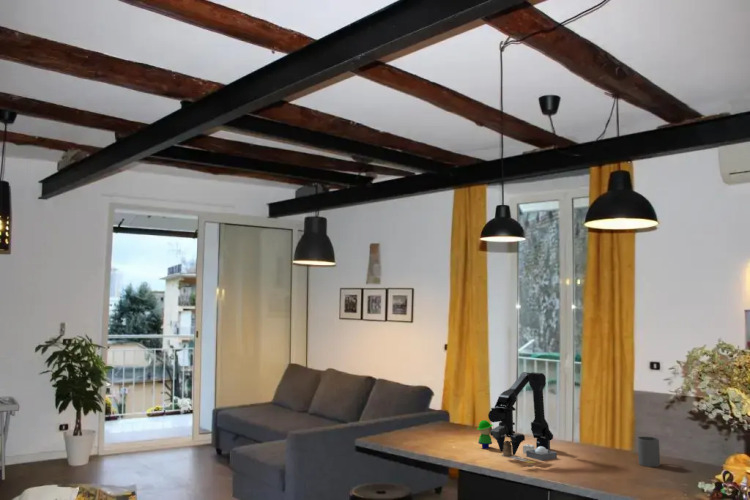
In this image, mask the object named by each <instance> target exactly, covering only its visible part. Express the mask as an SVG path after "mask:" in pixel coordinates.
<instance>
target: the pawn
mask: <svg viewBox="0 0 750 500" xmlns="http://www.w3.org/2000/svg"><path fill="white" fill-rule="evenodd" d="M502 452H503V453H502V455H504V456H503V457H505V456H508V457H507V458H509V456H511V457H513V456H512V455H513V453H512V443H511V442H510V440H505V441H504V445H503V451H502Z"/></svg>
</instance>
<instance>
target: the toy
mask: <svg viewBox="0 0 750 500" xmlns="http://www.w3.org/2000/svg"><path fill="white" fill-rule="evenodd" d="M494 428H495V427H494V424H491V423H490V421H488V420H481V421H480V422H479V424H478V427H477V428H476V430H479V432H480V435H479V438H478V442H477V443H478V444H480V445H481V448H482V449H484V450H488V449H489V448H490V445H492V444H493V441H492V437H491V430H492V429H494Z"/></svg>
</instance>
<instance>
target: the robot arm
mask: <svg viewBox="0 0 750 500" xmlns="http://www.w3.org/2000/svg"><path fill="white" fill-rule="evenodd" d="M546 379H547V378H546V375H545V373H542V372H533V371H532V372H525V371H523V372H521V373H520V375H519V377H518V378H517V379H516V380H515V382H513V384H512V385H511V386H510V387H509V388H508V389H506V390H504V391H502V393H500V394H499V396H498V398H497V401H496V402H495V405H494V407H490V409H491V410H490V411H489V412H488V414H487V418H488V420H489V422H491V423H498V426H496V427H494V429H493V428H492V430H491V433H490V437H491V436H492V438H494V439H495V440H496V442H497V444H498V448H499V452H503V445H504V442H505V441H506V440H505V439H506V438H510V440H509V442H510V443H511V445H512V455H513V456H515V455H516V453H517V452H518V449H519V447H520V445H521V443H523V441H525V440H526V438H525V437H526V435H525V434H523V433H516V431H515V430H514V425H516V422H514V413H513V412H514V411H516V407H514V405H515V404H516V402H517V399H518V395H519V394H520V393H521V392H522V390H523V389H524V388H525V386H526V385H527V384H528V385H529V386H530V387H529V388H531V390H532V399H533V400H532V401H533V414H534V419H533V421H531V422H530V431H531V433H532V436H533V438H534V439H536V441H535V443H536V444H535V445H536V447H535V449H537V448H538V447H539V446H542V447H545V448H546V449H547V450H549V451H550V449H551V445H550V444H551V441H553V439H554V434H553V433H552V431H551V430H550V427H549V423H548V422H547V420H546V418H545V406H544V405H545V404H544V402H545V401H544V391H543V390H544V388H545V387H546V384H547V383H546V382H547V381H546Z"/></svg>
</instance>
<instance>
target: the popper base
mask: <svg viewBox="0 0 750 500" xmlns="http://www.w3.org/2000/svg"><path fill="white" fill-rule="evenodd" d="M557 455H558V452H557V451H553V450H550V449H549V450H548V453H543V454H541V453H537V452H535V449H534V450H528V451H526V454H525V456H526V457H527V458H530V459H534V460H537V461H541V462H542V461H548V460H554V459H555V460H556V459H558V456H557Z"/></svg>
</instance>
